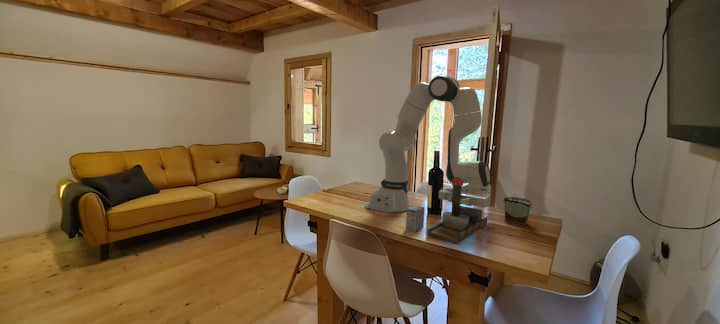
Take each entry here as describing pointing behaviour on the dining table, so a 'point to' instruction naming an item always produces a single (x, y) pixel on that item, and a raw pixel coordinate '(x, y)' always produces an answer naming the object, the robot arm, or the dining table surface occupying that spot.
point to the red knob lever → (456, 209)
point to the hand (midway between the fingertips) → (455, 201)
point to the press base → (458, 235)
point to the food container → (517, 209)
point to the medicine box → (415, 218)
